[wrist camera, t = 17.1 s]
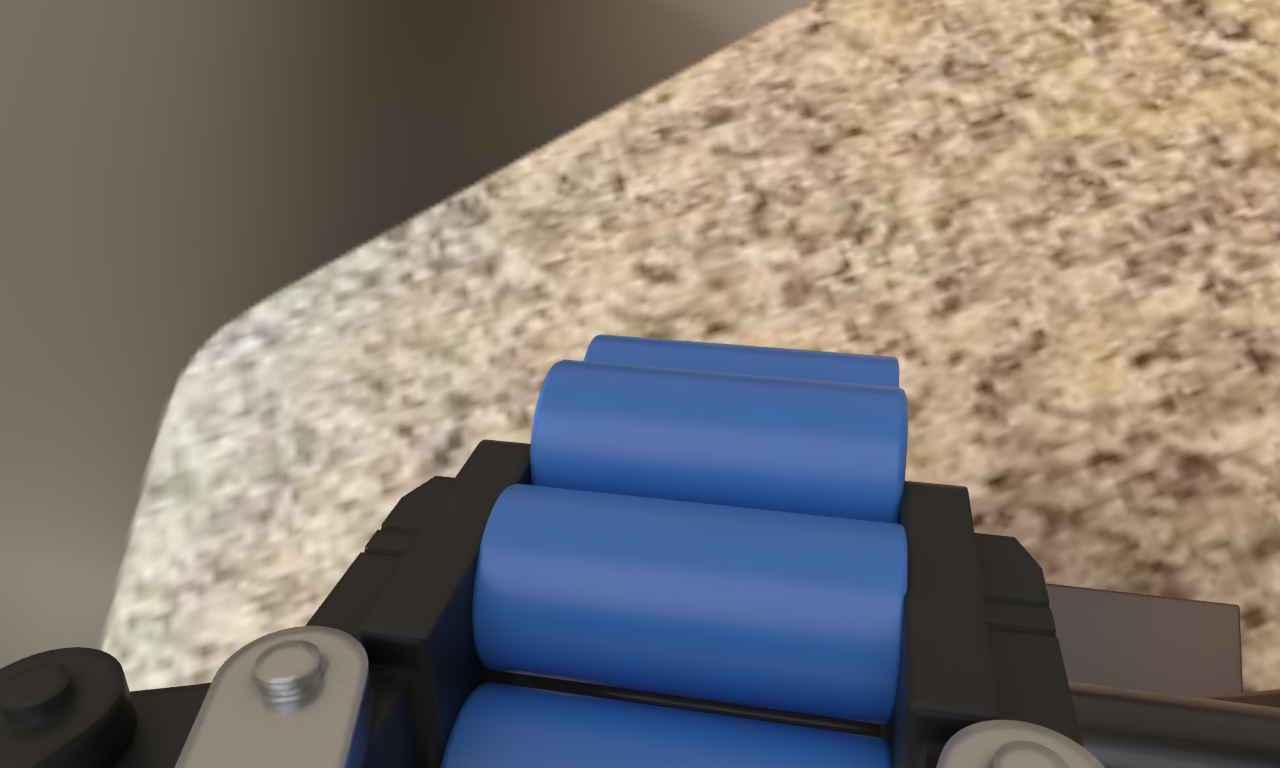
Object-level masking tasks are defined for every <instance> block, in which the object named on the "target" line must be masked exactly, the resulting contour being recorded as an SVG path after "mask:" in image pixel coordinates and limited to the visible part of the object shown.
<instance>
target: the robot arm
mask: <svg viewBox="0 0 1280 768" xmlns="http://www.w3.org/2000/svg"><path fill="white" fill-rule="evenodd" d="M530 445H531V444H526V443H516V442H505V441H495V440H482V441H481V442H480V443H479V444H478V446H477V447H476V448H475V450H474V451H473V453H472V454H471V456H470V457H469V459H468V460H467V461H466V463H465V464H464V466H463V467H462V469H461V470H460V472H459V473H458V475H457V476H456V477H455V478H451V477H442V476H435V477H433V478H432V479H430V480H429V481H427V482H426V483H424V484H422V485H421V486H419V487H418V488H416V489H415V490H413V491H411V492H410V493H408V494H407V495H405V496H404V497H402V498H401V499H400V501H399V502H398V503H397V505H396V506H395V507H394V509H393V510H392V511H391V513H390V514H389V515H388V517H387V518H386V519H385V521H384V522H383V523H382V528H381V530H377V531H376V533H375V534H374V535H373V537H372V538H371V539H370V541H369V542H368V543H367V545H366V546H365V551H364V553H362V552H361V553H360V554H359V555H358V557H357V558H356V559H355V561H354V562H353V563H352V565H351V566H350V567H349V569H348V570H347V571H346V573H345V574H344V575H343V577H342V578H341V579H340V581H339V582H338V583H337V585H336V586H335V587H334V589H333V590H332V591H331V593H330V594H329V595H328V597H327V598H326V599H325V601H324V602H323V603H322V605H321V606H320V607H319V609H318V610H317V611H316V613H315V614H314V615H313V617H312V618H311V619H310V621H309V622H308V623H307V625H306V626H303V627H294V628H289V629H284V630H280V631H277V632H274V633H271V634H268V635H265V636H263V637H261V638H258V639H256V640H254V641H252V642H251V643H249V644H247V645H245V646H244V647H242V648H241V649H240V650H238V651H237V652H235V653H234V654H233V655H232V656H231V657H230V658H229V659H227V660H226V661H225V662H224V664H223V665H222V666H221V667H220V669H219V670H218V671H217V673H216V675H215V677H214V679H213V681H212V682H211V683H205V684H198V685H189V686H179V687H170V688H161V689H151V690H142V691H132V692H129V688H128V685H127V682H126V678H125V675H124V672H123V669H122V666H121V664H120V663H119V662H118V661H117V659H116V658H114V657H113V656H111V655H110V654H108V653H106V652H103V651H101V650H97V649H91V648H80V647H75V648H62V649H56V650H50V651H46V652H42V653H38V654H35V655H32V656H29V657H26V658H23V659H21V660H19V661H16V662H14V663H12V664H10V665H7V666H6V667H4V668H2V669H0V768H440V766H441V763H442V759H443V755H444V752H445V748H446V745H447V742H448V739H449V736H450V733H451V730H452V728H453V725H454V722H455V720H456V718H457V716H458V713H459V711H460V709H461V707H462V705H463V704H464V702H465V700H466V699H467V697H468V696H469V694H470V693H471V692H472V691H473V690H474V689H475V688H476V687H477V686H479V685H481V684H484V683H488V682H494V683H501V684H508V685H512V683H513V681H514V679H515V677H516V674H517V673H511V672H504V671H497V670H491V669H489V668H487V667H485V666H484V665H483V664H482V663H481V661H480V659H479V658H478V655H477V652H476V648H475V643H474V637H473V625H472V602H473V588H474V579H475V571H476V565H477V559H478V554H479V550H480V545H481V540H482V536H483V533H484V530H485V527H486V524H487V521H488V518H489V516H490V513H491V511H492V509H493V506H494V504H495V503H496V501H497V499H498V497H499V496H500V494H501V493H502V492H503V491H504V490H505V489H506V488H507V487H509V486H511V485H514V484H525V485H531V477H530ZM898 524H900V525H902V526H904V528H905V531H906V535H907V542H908V589H907V592H906V594H905V595H904V613H903V628H902V641H901V653H900V663H899V673H898V682H897V690H896V697H895V703H894V709H893V714H892V718H891V721H890V723H889V724H886V725H882V724H881V738H882V739H884V740H886V741H887V742H889V746H890V754H891V768H1105V767H1104V766H1103V765H1102V764H1101V763H1100V762H1099V761H1098V760H1097V759H1096V758H1095V757H1094V756H1093V755H1092V754H1091V753H1090V752H1088V751H1087V750H1086V749H1085V748H1084V747H1083V744H1082V739H1081V735H1080V731H1079V727H1078V722H1077V718H1076V714H1075V709H1074V705H1073V701H1072V696H1071V692H1070V688H1069V683H1068V679H1067V675H1066V670H1065V666H1064V662H1063V658H1062V653H1061V649H1060V645H1059V640H1058V638H1057V637H1056V627H1055V623H1054V619H1053V614H1052V610H1051V609H1049V603H1050V601H1049V597H1048V593H1047V589H1046V584H1045V580H1044V576H1043V571H1042V568H1041V567H1040V566H1039V565H1038V563H1037V562H1036V561H1035V560H1034V559H1033V558H1032V557H1031V555H1030V554H1029V553H1028V552H1027V551H1026V550H1025V548H1024V547H1023V546H1022V545H1021V544H1020V543H1019V542H1018V540H1017V539H1016V538H1015V537H1008V536H999V535H989V534H980V533H974V528H973V521H972V514H971V507H970V500H969V494H968V489H967V487H963V486H953V485H942V484H932V483H922V482H911V481H905V482H904V492H903V495H902V496H901V502H900V511H899V520H898Z"/></svg>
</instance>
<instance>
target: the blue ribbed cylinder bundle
mask: <svg viewBox="0 0 1280 768" xmlns="http://www.w3.org/2000/svg"><path fill="white" fill-rule="evenodd" d="M907 436H908V403H907V397H906V394H905V391H904V390H903V389H901V388H899V364H898V360H897V358H895V357H887V356H874V355H861V354H848V353H835V352H822V351H809V350H796V349H783V348H770V347H757V346H744V345H731V344H718V343H705V342H692V341H679V340H666V339H653V338H640V337H627V336H614V335H598V336H595V337H594V338H593V340H592V341H591V343H590V345H589V347H588V350H587V352H586V355H585V358H584V361H574V360H562V361H559V362H557V363H555V364H554V365H553V366H552V367H551V369H550V370H549V372H548V374H547V376H546V378H545V380H544V383H543V385H542V388H541V391H540V394H539V398H538V401H537V405H536V410H535V415H534V420H533V427H532V435H531V445H530V477H531V485H525V484H514V485H511V486H509V487H507V488H506V489H505V490H504V491H503V492H502V493H501V494H500V496H499V497H498V499H497V501H496V503H495V504H494V506H493V509H492V511H491V513H490V516H489V518H488V521H487V524H486V527H485V530H484V533H483V536H482V540H481V545H480V550H479V554H478V559H477V565H476V571H475V579H474V588H473V602H472V625H473V637H474V643H475V648H476V652H477V655H478V658H479V659H480V661H481V663H482V664H483V665H484V666H485V667H487V668H489V669H491V670H497V671H504V672H511V673H518V674H525V675H532V676H539V677H547V678H554V679H561V680H568V681H575V682H582V683H589V684H597V685H604V686H611V687H618V688H625V689H632V690H639V691H647V692H654V693H661V694H668V695H675V696H682V697H689V698H697V699H704V700H711V701H718V702H725V703H732V704H739V705H747V706H754V707H761V708H768V709H775V710H782V711H789V712H797V713H804V714H811V715H818V716H825V717H832V718H839V719H847V720H854V721H861V722H868V723H875V724H882V725H886V724H889V723H890V721H891V718H892V714H893V709H894V703H895V697H896V690H897V682H898V673H899V663H900V653H901V641H902V628H903V613H904V595H905V594H906V592H907V589H908V542H907V535H906V531H905V528H904V526H902V525H900V524H898V520H899V511H900V502H901V496H902V495H903V492H904V482H905V469H906V455H907ZM440 768H891V754H890V746H889V742H887V741H886V740H884V739H882V738H880V737H873V736H866V735H859V734H852V733H845V732H838V731H831V730H824V729H817V728H810V727H803V726H796V725H789V724H782V723H775V722H768V721H761V720H754V719H747V718H740V717H733V716H726V715H719V714H712V713H705V712H698V711H691V710H684V709H677V708H669V707H662V706H655V705H648V704H641V703H634V702H627V701H620V700H613V699H606V698H599V697H592V696H585V695H578V694H571V693H564V692H557V691H550V690H543V689H536V688H529V687H522V686H515V685H508V684H501V683H494V682H488V683H484V684H481V685H479V686H477V687H476V688H475V689H474V690H473V691H472V692H471V693H470V694H469V696H468V697H467V699H466V700H465V702H464V704H463V705H462V707H461V709H460V711H459V713H458V716H457V718H456V720H455V722H454V725H453V728H452V730H451V733H450V736H449V739H448V742H447V745H446V748H445V752H444V755H443V759H442V763H441V766H440Z"/></svg>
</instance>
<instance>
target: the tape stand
mask: <svg viewBox="0 0 1280 768" xmlns="http://www.w3.org/2000/svg"><path fill="white" fill-rule="evenodd" d="M1046 589H1047V593H1048V597H1049V601H1050V603H1049V609H1051V610H1052V614H1053V619H1054V623H1055V627H1056V637H1057V638H1058V640H1059V645H1060V649H1061V653H1062V658H1063V662H1064V666H1065V670H1066V675H1067V679H1068V683H1069V688H1070V692H1071V696H1072V701H1073V705H1074V709H1075V714H1076V718H1077V722H1078V727H1079V731H1080V735H1081V739H1082V744H1083V747H1084V748H1085V749H1086V750H1087V751H1088V752H1090V753H1091V754H1092V755H1093V756H1094V757H1095V758H1096V759H1097V760H1098V761H1099V762H1100V763H1101V764H1102V765H1103V766H1104V767H1105V768H1280V689H1277V690H1267V691H1257V692H1247V693H1243V686H1242V660H1241V635H1240V609H1239V606H1238V605H1233V604H1224V603H1215V602H1206V601H1197V600H1188V599H1179V598H1170V597H1161V596H1152V595H1143V594H1134V593H1125V592H1116V591H1107V590H1099V589H1090V588H1081V587H1072V586H1063V585H1054V584H1046ZM512 685H515V686H522V687H529V688H536V689H543V690H550V691H557V692H564V693H571V694H578V695H585V696H592V697H599V698H606V699H613V700H620V701H627V702H634V703H641V704H648V705H655V706H662V707H669V708H677V709H684V710H691V711H698V712H705V713H712V714H719V715H726V716H733V717H740V718H747V719H754V720H761V721H768V722H775V723H782V724H789V725H796V726H803V727H810V728H817V729H824V730H831V731H838V732H845V733H852V734H859V735H866V736H873V737H880V738H881V724H875V723H868V722H861V721H854V720H847V719H839V718H832V717H825V716H818V715H811V714H804V713H797V712H789V711H782V710H775V709H768V708H761V707H754V706H747V705H739V704H732V703H725V702H718V701H711V700H704V699H697V698H689V697H682V696H675V695H668V694H661V693H654V692H647V691H639V690H632V689H625V688H618V687H611V686H604V685H597V684H589V683H582V682H575V681H568V680H561V679H554V678H547V677H539V676H532V675H525V674H518V673H517V674H516V677H515V679H514V681H513V683H512Z"/></svg>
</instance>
